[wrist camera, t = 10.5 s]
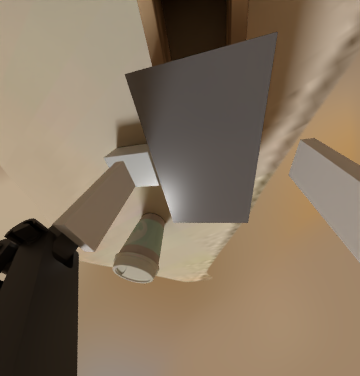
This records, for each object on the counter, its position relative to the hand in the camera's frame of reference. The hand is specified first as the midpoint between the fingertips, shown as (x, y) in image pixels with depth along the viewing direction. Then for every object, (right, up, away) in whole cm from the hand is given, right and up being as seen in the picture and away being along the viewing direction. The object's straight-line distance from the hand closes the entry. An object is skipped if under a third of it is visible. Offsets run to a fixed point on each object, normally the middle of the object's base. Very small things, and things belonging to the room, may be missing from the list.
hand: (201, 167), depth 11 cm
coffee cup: (-8, -10, +23) cm, 26 cm away
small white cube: (-8, +3, +13) cm, 16 cm away
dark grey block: (+2, +5, +8) cm, 10 cm away
